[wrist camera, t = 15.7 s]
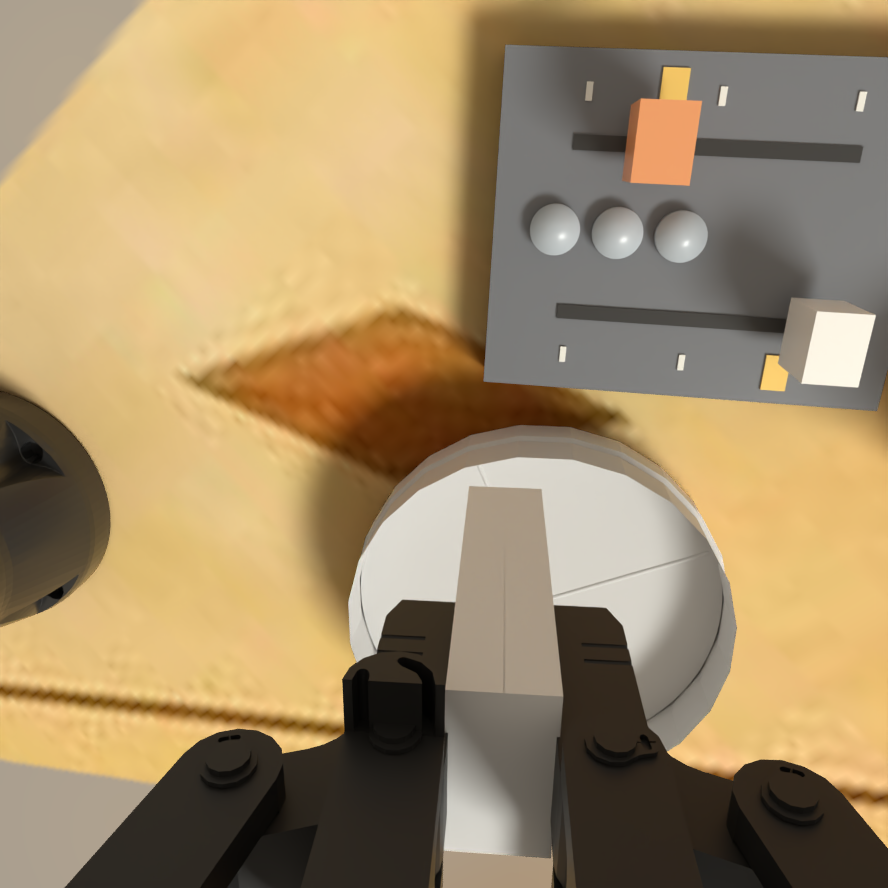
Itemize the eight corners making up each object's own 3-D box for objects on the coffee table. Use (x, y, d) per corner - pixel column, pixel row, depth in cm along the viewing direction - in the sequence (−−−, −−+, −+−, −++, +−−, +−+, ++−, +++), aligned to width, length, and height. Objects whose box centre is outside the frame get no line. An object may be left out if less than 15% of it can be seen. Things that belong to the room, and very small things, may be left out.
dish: (657, 368, 42) (672, 393, 37) (762, 686, 48) (786, 743, 44) (305, 491, 47) (279, 526, 43) (440, 764, 53) (431, 822, 49)
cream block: (770, 357, 38) (801, 383, 34) (783, 293, 37) (817, 311, 33) (820, 361, 38) (858, 387, 33) (835, 296, 37) (875, 315, 32)
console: (486, 369, 43) (482, 384, 40) (507, 52, 37) (505, 42, 34) (857, 396, 41) (882, 414, 38) (938, 66, 35) (974, 58, 32)
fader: (619, 180, 36) (630, 182, 32) (627, 106, 35) (640, 98, 31) (671, 182, 36) (689, 185, 31) (681, 108, 35) (702, 100, 30)
